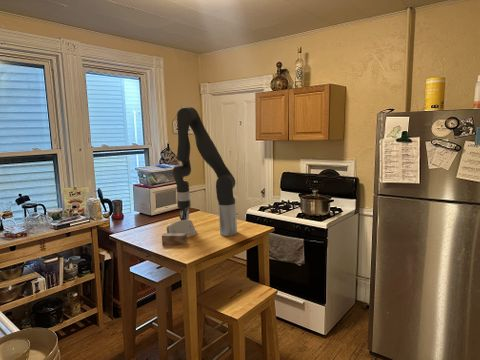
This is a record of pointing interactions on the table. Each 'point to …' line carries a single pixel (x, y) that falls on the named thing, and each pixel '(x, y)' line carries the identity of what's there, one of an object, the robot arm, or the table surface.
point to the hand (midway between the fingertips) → (185, 227)
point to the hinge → (182, 227)
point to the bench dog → (174, 239)
